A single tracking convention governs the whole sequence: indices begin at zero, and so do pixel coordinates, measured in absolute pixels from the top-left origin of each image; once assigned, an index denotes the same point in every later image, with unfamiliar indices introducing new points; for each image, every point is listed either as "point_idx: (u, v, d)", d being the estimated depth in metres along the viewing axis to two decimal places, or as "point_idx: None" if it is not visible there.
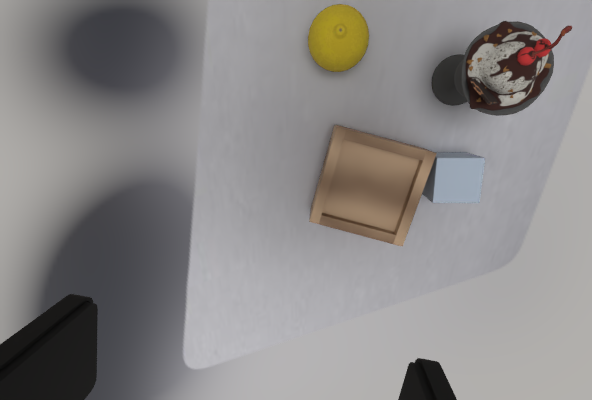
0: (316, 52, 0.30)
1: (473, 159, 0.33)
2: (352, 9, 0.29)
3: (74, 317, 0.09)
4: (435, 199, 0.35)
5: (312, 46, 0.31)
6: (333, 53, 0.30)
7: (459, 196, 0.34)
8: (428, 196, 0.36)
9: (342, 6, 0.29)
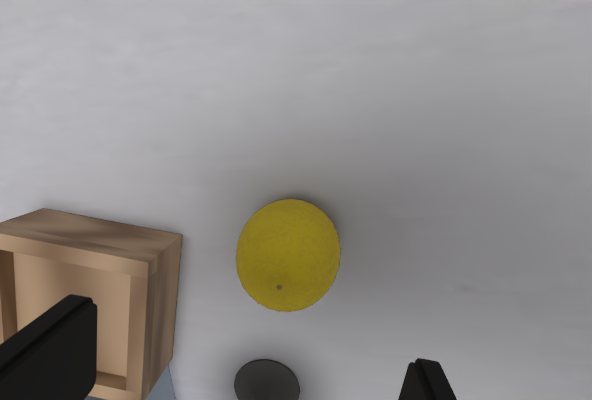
0: (252, 232, 0.17)
1: None
2: (324, 289, 0.16)
3: (74, 317, 0.09)
4: None
5: (263, 222, 0.17)
6: (246, 268, 0.16)
7: None
8: None
9: (328, 273, 0.16)
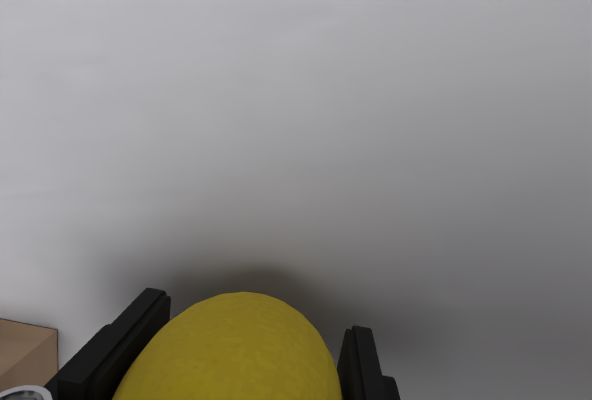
0: None
1: None
2: None
3: (156, 308, 0.10)
4: None
5: None
6: None
7: None
8: None
9: None
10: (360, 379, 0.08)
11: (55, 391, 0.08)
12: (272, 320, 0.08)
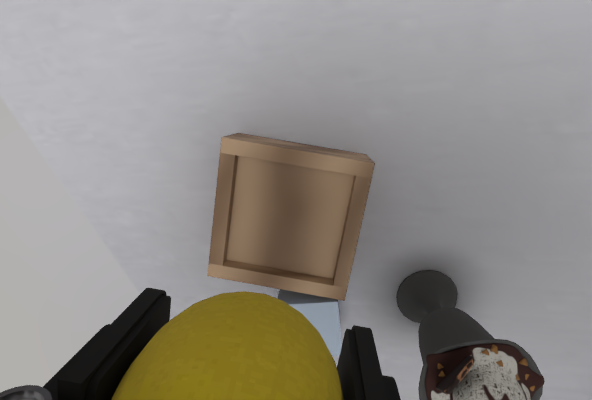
0: None
1: (339, 343, 0.26)
2: None
3: (156, 308, 0.10)
4: None
5: None
6: None
7: None
8: (281, 294, 0.27)
9: None
10: (360, 379, 0.08)
11: (55, 391, 0.08)
12: (272, 320, 0.08)
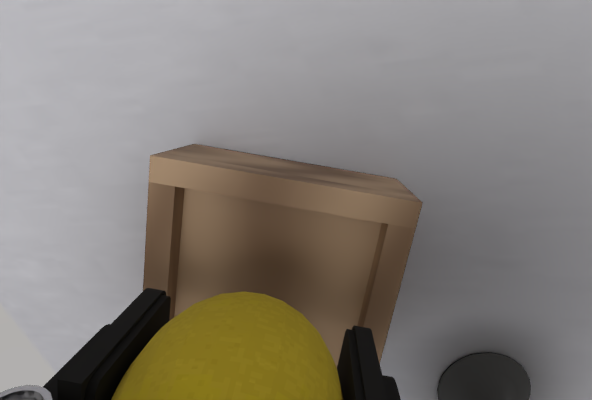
0: None
1: None
2: None
3: (157, 308, 0.10)
4: None
5: None
6: None
7: None
8: None
9: None
10: (360, 379, 0.08)
11: (55, 391, 0.08)
12: (272, 320, 0.08)
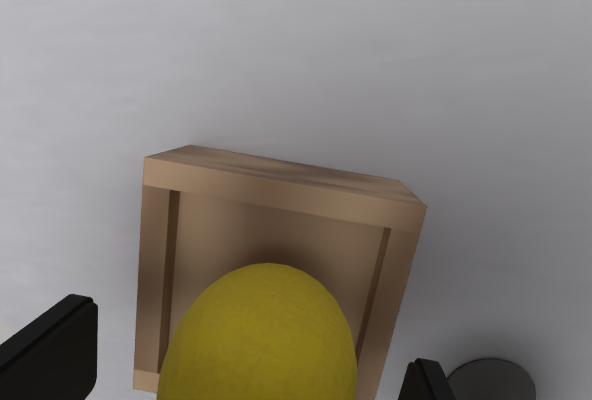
0: (182, 357, 0.08)
1: None
2: None
3: (75, 317, 0.09)
4: None
5: (205, 335, 0.08)
6: None
7: None
8: None
9: None
10: None
11: None
12: (297, 281, 0.10)
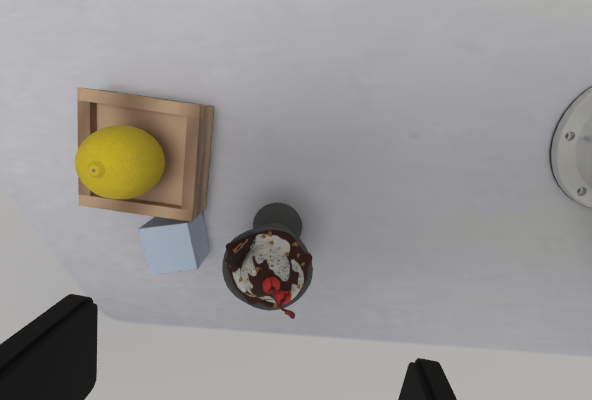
0: (83, 141, 0.24)
1: (193, 258, 0.32)
2: (136, 178, 0.24)
3: (74, 317, 0.09)
4: (142, 230, 0.31)
5: (91, 134, 0.24)
6: (77, 163, 0.24)
7: (151, 254, 0.32)
8: (148, 223, 0.33)
9: (136, 166, 0.24)
10: None
11: None
12: (134, 127, 0.26)
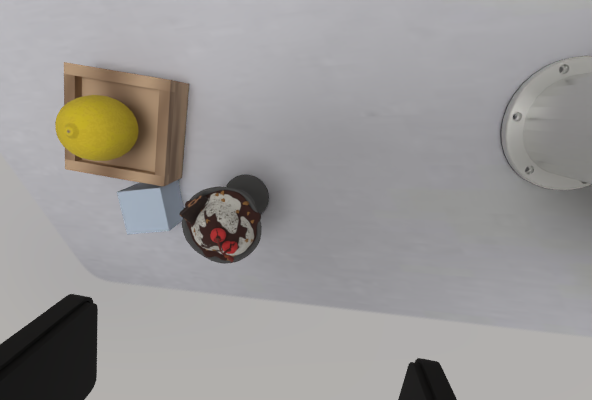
0: (62, 107, 0.28)
1: (165, 220, 0.35)
2: (107, 140, 0.28)
3: (74, 317, 0.09)
4: (120, 193, 0.35)
5: None
6: (56, 126, 0.27)
7: (129, 215, 0.35)
8: (127, 188, 0.36)
9: (107, 129, 0.27)
10: None
11: None
12: (109, 97, 0.30)
